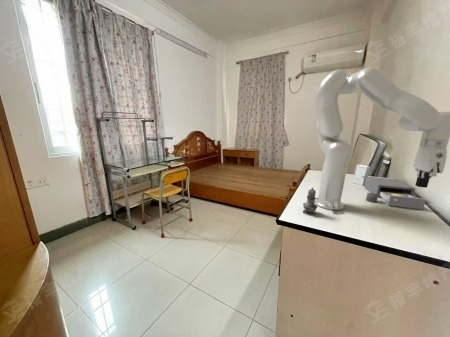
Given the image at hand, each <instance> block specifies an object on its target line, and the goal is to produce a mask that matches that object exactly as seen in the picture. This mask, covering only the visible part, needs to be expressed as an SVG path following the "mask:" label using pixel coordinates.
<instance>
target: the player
mask: <svg viewBox="0 0 450 337" xmlns="http://www.w3.org/2000/svg"><path fill="white" fill-rule="evenodd" d="M364 188H365V190H367V191H368V193H374V194H377V195H378V198H380V199H383V198H382V197H381V196H380V195H379V192H380V191H384V192H394V193H402V191H404V192H406V193H408V194H409V195H411V196H413V197H414V195H415V194H414V193H415V191H416V188H415V187H414V186H412V185H409V184H408V183H406V182H404V181H402V180H401V179H399V178H391V177H390V178H388V177H378V176H368V177H366V182H365V185H364ZM378 198H377V199H378Z"/></svg>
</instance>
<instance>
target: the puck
mask: <svg viewBox="0 0 450 337" xmlns="http://www.w3.org/2000/svg"><path fill="white" fill-rule="evenodd" d="M365 200H366V201H367V202H370V203H377V202H378V195H377V194H374V193H370V192H367V193H366V198H365Z"/></svg>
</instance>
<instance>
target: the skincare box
mask: <svg viewBox="0 0 450 337" xmlns="http://www.w3.org/2000/svg"><path fill="white" fill-rule="evenodd" d="M370 169H371V166H369V165H365V164H364V165H363V164H357V165H356V168H355V171H354V172H355V173H354V176H353V181H352V183H353V184H357V185H359V186H365V182H366V177H369V173H370Z"/></svg>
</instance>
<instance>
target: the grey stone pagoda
mask: <svg viewBox="0 0 450 337" xmlns="http://www.w3.org/2000/svg"><path fill="white" fill-rule="evenodd" d="M307 191H308V193H307V196H306V198H307V199H306V202H304V203H303V204H302V206H303V210H302V213H303V214H304V215H307V216H312V217H313V216H316V212H315V211H316V210H317V209H318V205H316V204H315V199H316V198H317V197H316V190H315V189H314V187H311V189H308V190H307Z"/></svg>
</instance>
